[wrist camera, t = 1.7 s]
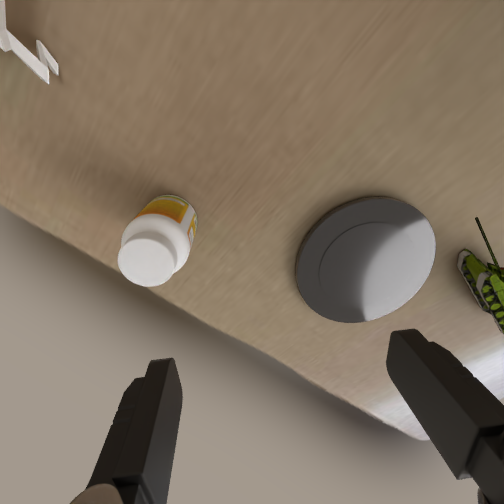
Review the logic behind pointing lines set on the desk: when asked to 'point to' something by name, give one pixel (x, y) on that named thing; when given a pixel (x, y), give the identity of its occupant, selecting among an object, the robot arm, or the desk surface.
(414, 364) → the robot arm
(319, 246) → the plate
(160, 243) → the supplement bottle
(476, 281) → the toy tank
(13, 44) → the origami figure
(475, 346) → the desk surface
